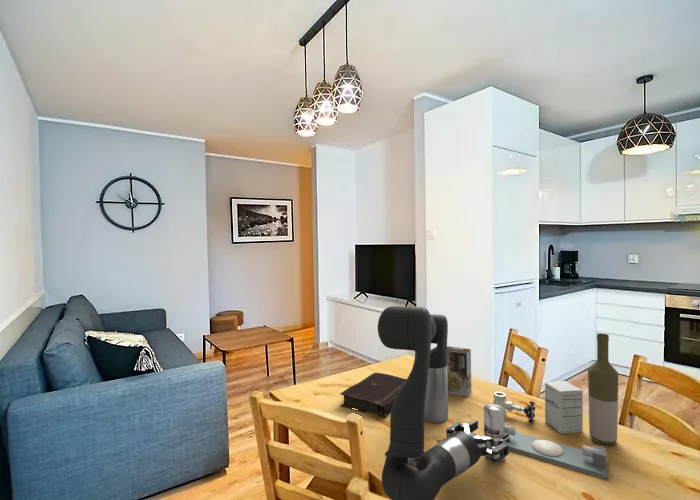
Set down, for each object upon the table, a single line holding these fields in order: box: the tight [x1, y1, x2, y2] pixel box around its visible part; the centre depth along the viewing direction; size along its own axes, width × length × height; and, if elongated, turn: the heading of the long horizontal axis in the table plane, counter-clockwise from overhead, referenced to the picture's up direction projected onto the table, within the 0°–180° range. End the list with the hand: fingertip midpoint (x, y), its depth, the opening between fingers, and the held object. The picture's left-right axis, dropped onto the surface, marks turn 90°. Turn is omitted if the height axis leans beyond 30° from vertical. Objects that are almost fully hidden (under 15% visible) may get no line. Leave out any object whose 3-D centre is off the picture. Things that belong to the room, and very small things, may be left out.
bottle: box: [587, 333, 619, 446], centre depth 101 cm, size 7×7×30 cm
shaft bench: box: [505, 421, 608, 480], centre depth 96 cm, size 26×9×4 cm, turn 54°
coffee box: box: [447, 345, 473, 398], centre depth 136 cm, size 9×6×16 cm
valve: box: [492, 391, 536, 424], centre depth 116 cm, size 7×7×12 cm
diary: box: [339, 371, 407, 419], centre depth 132 cm, size 19×25×5 cm
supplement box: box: [544, 380, 584, 434], centre depth 109 cm, size 7×7×13 cm
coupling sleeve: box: [483, 403, 506, 464], centre depth 94 cm, size 5×5×13 cm
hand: (491, 430), depth 94 cm, fingers open, 8 cm apart
